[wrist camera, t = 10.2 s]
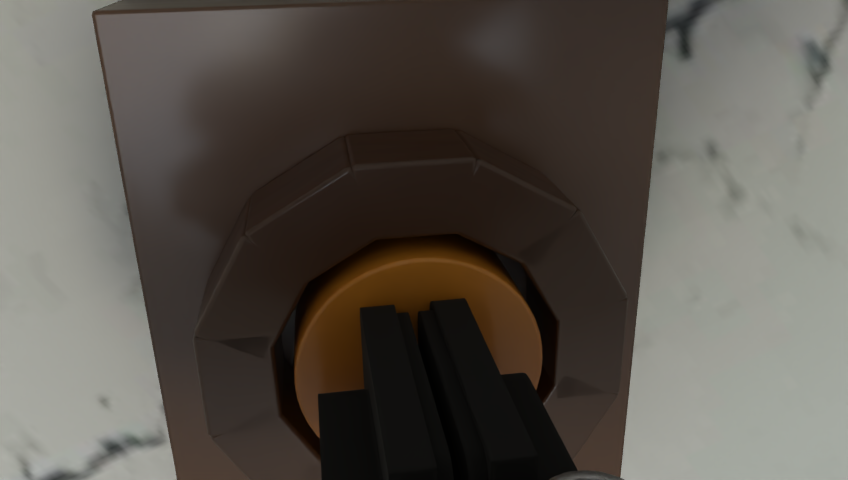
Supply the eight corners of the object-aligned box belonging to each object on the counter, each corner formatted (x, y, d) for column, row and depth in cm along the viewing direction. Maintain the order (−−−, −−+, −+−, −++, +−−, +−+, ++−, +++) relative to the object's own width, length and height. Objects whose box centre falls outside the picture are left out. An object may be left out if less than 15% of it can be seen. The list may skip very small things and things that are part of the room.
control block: (121, -3, 13) (52, 25, 9) (618, -18, 14) (729, -1, 11) (206, 499, 17) (181, 653, 14) (582, 454, 18) (652, 585, 15)
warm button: (284, 226, 12) (282, 269, 11) (518, 208, 13) (549, 248, 11) (303, 425, 14) (304, 489, 12) (512, 402, 15) (539, 461, 13)
